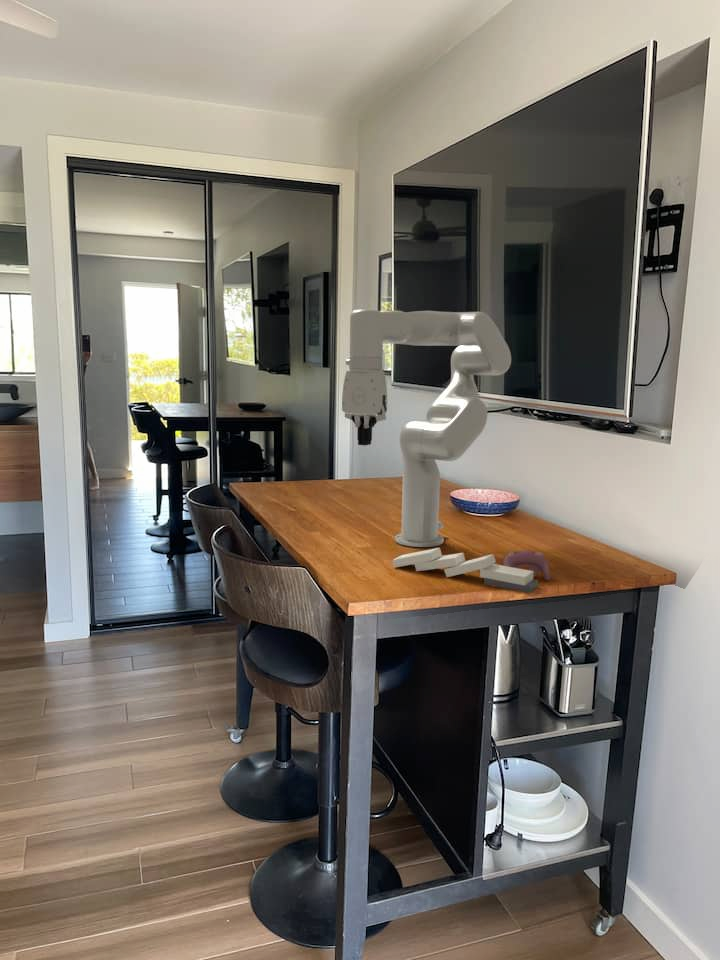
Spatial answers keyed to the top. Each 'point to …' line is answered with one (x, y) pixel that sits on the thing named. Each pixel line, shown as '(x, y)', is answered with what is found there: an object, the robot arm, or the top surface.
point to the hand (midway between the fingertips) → (364, 444)
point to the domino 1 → (417, 557)
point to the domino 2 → (441, 562)
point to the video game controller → (528, 562)
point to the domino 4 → (507, 574)
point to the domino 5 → (513, 585)
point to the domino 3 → (470, 565)
